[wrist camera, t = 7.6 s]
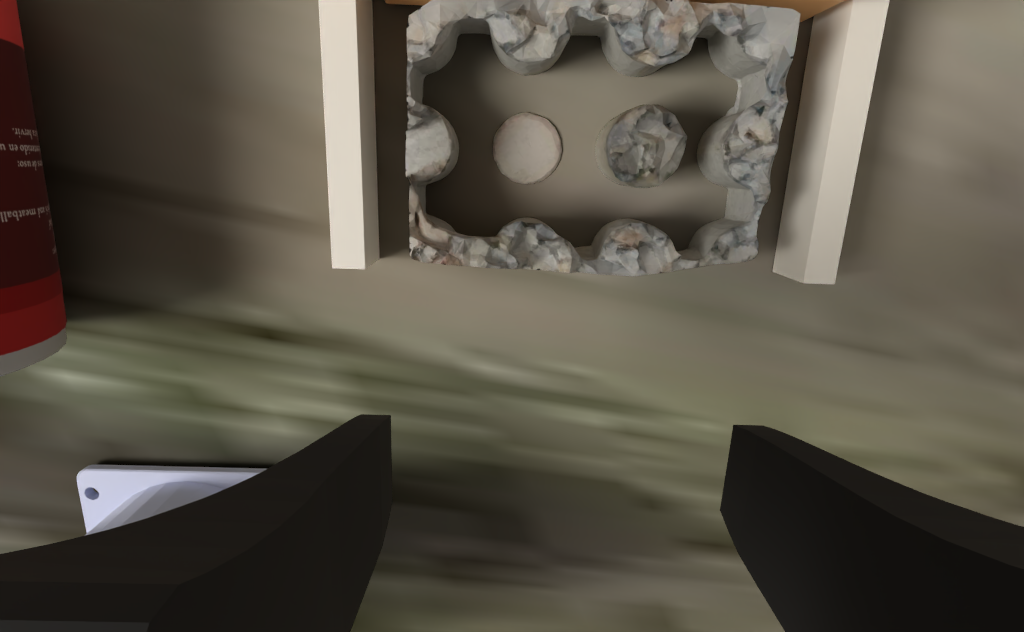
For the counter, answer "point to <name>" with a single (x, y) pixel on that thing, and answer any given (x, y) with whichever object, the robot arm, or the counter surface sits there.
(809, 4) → the pusher plate
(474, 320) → the counter surface
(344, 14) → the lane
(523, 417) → the counter surface
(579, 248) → the egg carton
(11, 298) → the canned food
